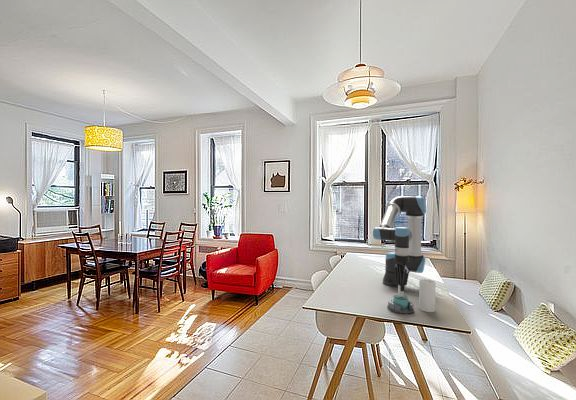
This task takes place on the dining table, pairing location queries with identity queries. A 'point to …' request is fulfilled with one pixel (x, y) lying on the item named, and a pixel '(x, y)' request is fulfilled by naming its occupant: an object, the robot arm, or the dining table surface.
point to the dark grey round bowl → (397, 308)
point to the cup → (427, 295)
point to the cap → (401, 302)
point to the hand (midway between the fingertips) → (400, 296)
